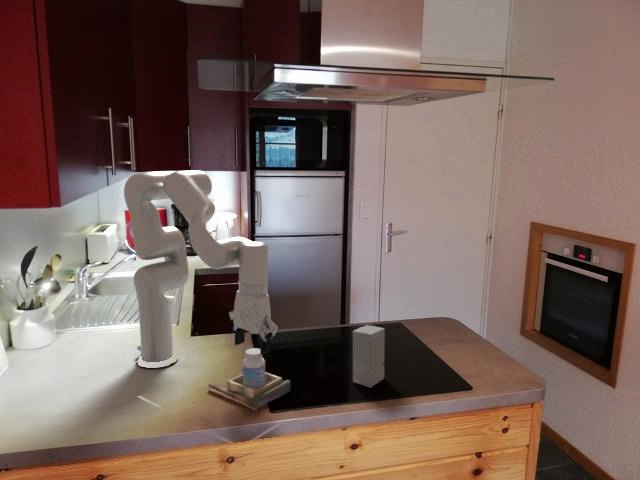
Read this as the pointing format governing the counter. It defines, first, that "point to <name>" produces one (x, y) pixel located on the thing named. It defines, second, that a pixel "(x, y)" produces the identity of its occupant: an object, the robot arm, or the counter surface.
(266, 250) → the robot arm
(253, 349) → the pill bottle
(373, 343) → the skincare box
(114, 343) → the counter surface
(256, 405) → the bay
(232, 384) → the crate
